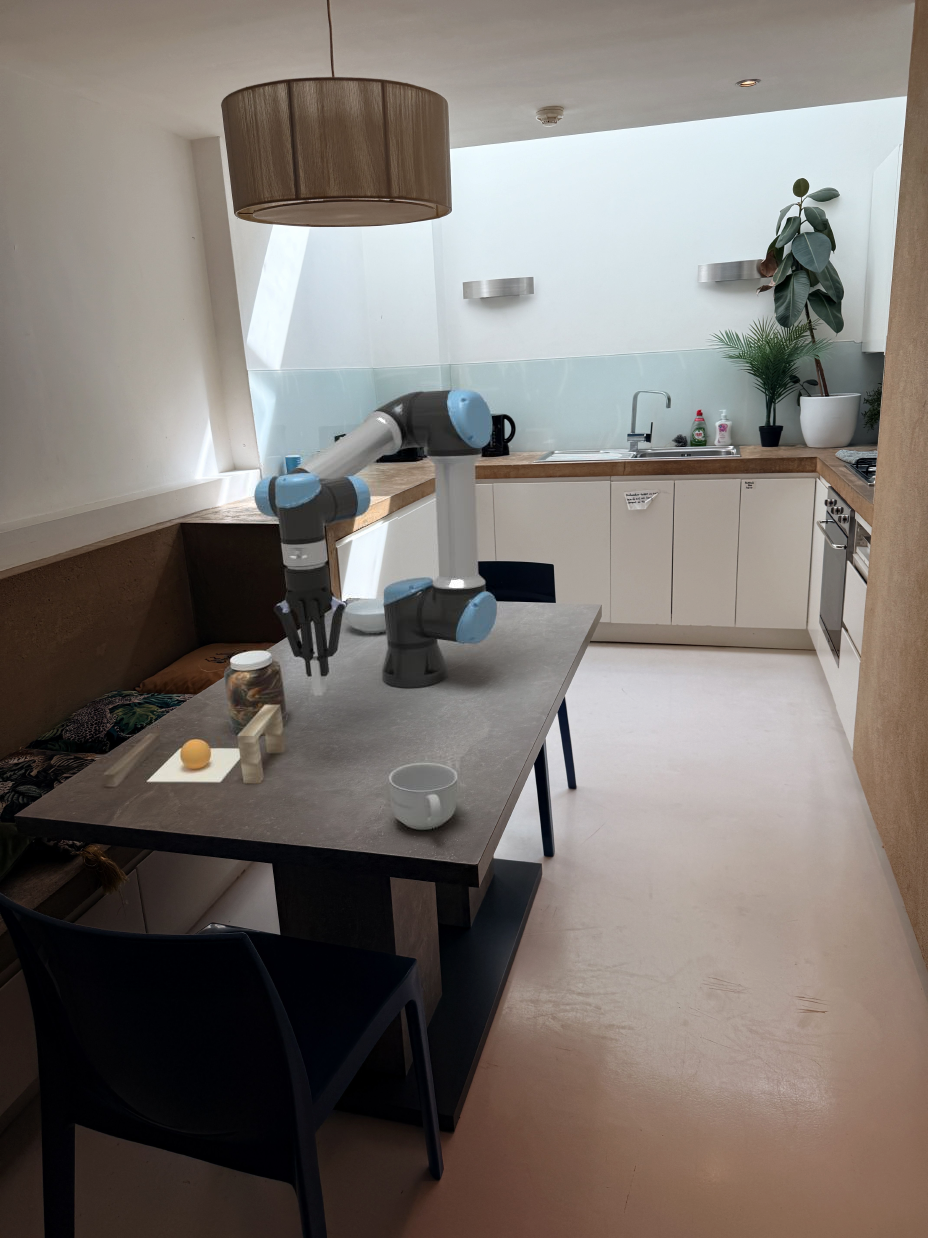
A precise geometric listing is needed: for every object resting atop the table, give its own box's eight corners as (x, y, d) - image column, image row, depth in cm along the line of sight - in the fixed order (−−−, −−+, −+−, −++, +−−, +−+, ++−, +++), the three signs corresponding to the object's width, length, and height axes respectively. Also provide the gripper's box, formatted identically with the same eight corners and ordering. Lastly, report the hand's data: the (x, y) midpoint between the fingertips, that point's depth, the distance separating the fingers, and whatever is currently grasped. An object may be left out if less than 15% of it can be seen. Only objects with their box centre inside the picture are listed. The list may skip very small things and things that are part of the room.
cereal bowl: (403, 637, 235) (401, 612, 233) (342, 640, 236) (339, 615, 234) (408, 619, 252) (406, 596, 250) (351, 622, 252) (348, 599, 250)
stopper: (160, 745, 174) (158, 733, 173) (115, 787, 157) (113, 774, 156) (151, 745, 174) (149, 733, 174) (105, 787, 157) (102, 774, 157)
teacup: (392, 807, 144) (388, 763, 142) (457, 801, 145) (454, 757, 143) (392, 851, 131) (388, 803, 129) (464, 844, 131) (461, 797, 129)
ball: (182, 739, 165) (192, 765, 166) (171, 750, 159) (182, 777, 161) (208, 731, 164) (219, 757, 165) (198, 742, 159) (209, 769, 160)
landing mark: (248, 749, 170) (248, 748, 170) (220, 782, 156) (220, 781, 156) (180, 749, 172) (180, 748, 172) (146, 782, 158) (146, 781, 158)
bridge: (285, 748, 169) (280, 704, 166) (259, 783, 155) (253, 735, 153) (270, 748, 169) (265, 704, 167) (243, 783, 156) (237, 736, 153)
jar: (226, 721, 185) (217, 654, 180) (281, 710, 189) (273, 644, 185) (235, 741, 174) (225, 670, 170) (293, 729, 178) (285, 660, 174)
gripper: (262, 570, 147) (278, 700, 154) (337, 568, 146) (350, 700, 152) (276, 561, 155) (291, 685, 161) (348, 559, 153) (360, 685, 159)
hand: (320, 692), depth 157 cm, fingers closed
